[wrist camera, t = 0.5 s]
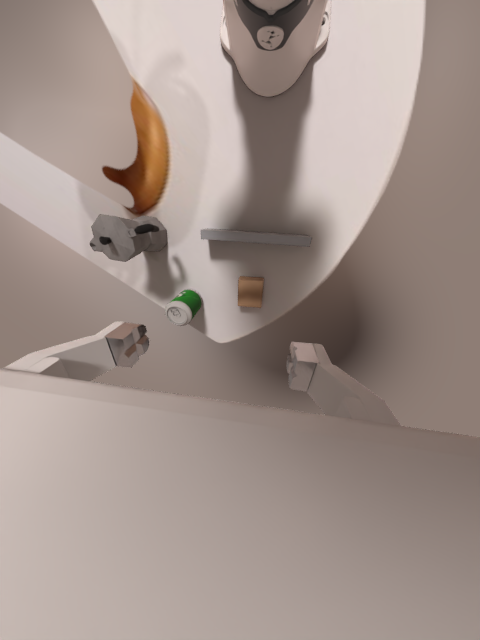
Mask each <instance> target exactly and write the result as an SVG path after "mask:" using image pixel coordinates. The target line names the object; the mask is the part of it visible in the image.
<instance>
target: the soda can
mask: <svg viewBox="0 0 480 640" xmlns="http://www.w3.org/2000/svg"><path fill="white" fill-rule="evenodd" d="M201 305H202V298H201V296H200V295H199V293H197V292H196V291H194V290H191V289H187V290H184V291H182V292H181V293H180V294H179V295H178V296H177V297H175V298H174V299H173V300H172V301H171V302H170V303H169V304H168V305H167V306H166V308H165V314H166V316H167V318H168V320H169V321H170V322H171V323H173V324H175V325H179V326H184V325H187V324H188V323H189V322H190V321H191V320H192V318H193V317H194V315H195V314H196V313H197V311H198V310H199V309H200V307H201Z"/></svg>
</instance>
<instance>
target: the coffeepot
mask: <svg viewBox="0 0 480 640" xmlns="http://www.w3.org/2000/svg"><path fill="white" fill-rule="evenodd" d="M91 228H92V231H93V235H94V238H93V239H92V240H91V241H90V246H91V247H92V249H93V250H94V251H100V252H103V253H104V254H105V255H106V256H107V257H108V258H109V259H111V260H117V261H124V262H126V261H128V260H130V259H131V258H133V257H135V256H136V255H138V254H140V253H141V252H142V251H160V250H161V249H162V248H163V247H164V246H165V245H166V244H167V233H166V229H165V227H164V226H163V225H162V223H161V222H160V221H159V220H158V219H157V218H155V217H148V216H141V217H138V218H135V219H132V220H129V219H124V218H120V217H116V216H109V215H102V214H100V215H99V216H98V218H97V219H96V221H95V222H94V224H93V225H92V226H91Z"/></svg>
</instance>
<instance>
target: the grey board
mask: <svg viewBox="0 0 480 640" xmlns="http://www.w3.org/2000/svg"><path fill="white" fill-rule="evenodd" d="M201 239H209V240H223V241H237V242H251V243H265V244H278V245H292V246H306V247H310V244H311V239H312V237H310V236H307V235H295V234H280V233H265V232H250V231H235V230H221V229H202V230H201Z"/></svg>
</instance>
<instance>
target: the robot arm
mask: <svg viewBox="0 0 480 640" xmlns="http://www.w3.org/2000/svg"><path fill="white" fill-rule="evenodd" d="M330 17H331V0H223V10H222V19H221V27H220V39H221V44H222V46H223V48H224V49H225V50H226V52H227V53H228V54H229V55H230V56H231V57H232V58H233V60H234V62H235V64H236V67H237V69H238V72H239V74H240V76H241V78H242V80H243V81H244V83H245V84H246V85H247V87H248V88H249V89H250V90H252V91H253V92H254V93H256V94H258V95H261V96H267V97H270V96H276V95H278V94H281V93H283V92H284V91H286V90H287V89H288V88H290V87H291V86H292V85H293V84H294V83H295V82H296V80H297V79H298V78H299V76H300V75H301V73H302V72H303V70H304V68H305V67H306V65H307V63H308V62H309V60H310V59H311V57H313V56H314V55H315V54H316V53H317V52H318V51H319V50H320V49H321V48H322V47H323V46H324V45H325V44H326V42H327V39H328V36H329V31H330ZM322 21H324V25H323V26H321V25H322ZM226 26H227V27H226ZM146 332H147V330H146V326H144V325H142V324H135V323H127V322H120V321H119V322H114V323H113V324H111V325H110V326H108V327H107V328H105V329H103V330H102V331H100V332H99V333H97V334H96V335H94V336H88V337H85V338H81V339H78V340H75V341H71V342H67V343H64V344H60V345H57V346H54V347H50V348H47V349H44V350H40V351H36V352H33V353H30V354H28V355H26V356H25V357H23V358H21V359H19V360H17V361H16V362H14V363H12V364H10V365H8V366H6V367H5V368H3V369H0V640H480V437H476V436H469V435H462V434H455V433H447V432H440V431H433V430H427V429H419V428H412V427H405V426H401V425H400V423H399V422H398V420H397V419H396V417H395V416H394V415H393V413H392V411H391V410H390V409H389V407H388V406H387V404H386V403H385V401H384V400H382V399H381V398H380V397H378V396H377V395H375V394H374V393H373V392H371V391H370V390H369V389H367V388H366V387H364V386H363V385H362V384H360V383H359V382H358V381H356V380H355V379H353V378H352V377H351V376H349V375H348V374H346V373H345V372H344V371H342V370H341V369H340V368H338V367H337V366H335V365H332V364H331V362H330V360H329V357H328V356H327V354H326V351H325V349H324V348H323V346H322V345H321V344H313V343H300V342H291V345H290V352H291V353H290V354H289V355H288V358H287V372H288V373H289V378H288V379H289V386H290V389H294V390H300V391H307V393H308V394H309V395H310V396H311V398H312V399H313V400H314V401H315V403H316V404H317V405H318V406H319V408H320V409H321V410H322V411H323V412H324V414H325V415H321V414H315V413H307V412H301V411H293V410H286V409H279V408H272V407H265V406H258V405H251V404H244V403H237V402H230V401H224V400H216V399H209V398H203V397H196V396H189V395H182V394H175V393H168V392H161V391H154V390H147V389H140V388H133V387H126V386H119V385H111V384H104V383H98V382H91V380H93V379H95V378H96V377H98V376H100V375H102V374H104V373H106V372H107V371H109V370H111V369H113V368H115V367H116V366H122V367H132V366H133V365H134V364H135V363H136V362H137V361H138V360H139V356H141V355H143V354H144V353H145V352H146V351H147V349H148V347H149V338H148V337H147V336H146V335H145V334H146Z"/></svg>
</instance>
